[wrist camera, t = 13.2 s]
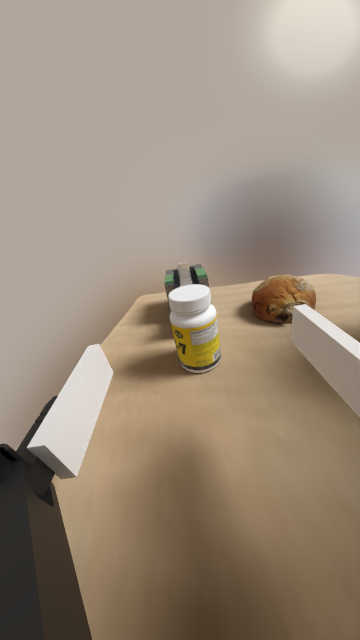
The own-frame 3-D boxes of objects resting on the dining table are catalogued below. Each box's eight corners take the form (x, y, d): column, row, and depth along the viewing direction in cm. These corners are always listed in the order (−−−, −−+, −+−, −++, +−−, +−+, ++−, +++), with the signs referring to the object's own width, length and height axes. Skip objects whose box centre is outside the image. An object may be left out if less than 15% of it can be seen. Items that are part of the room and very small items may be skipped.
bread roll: (312, 323, 36) (321, 278, 35) (309, 329, 28) (320, 271, 26) (257, 315, 42) (262, 276, 40) (240, 318, 33) (246, 270, 32)
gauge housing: (213, 315, 38) (208, 275, 34) (172, 322, 38) (163, 284, 34) (205, 295, 46) (201, 262, 43) (172, 301, 47) (164, 269, 43)
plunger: (210, 328, 32) (203, 273, 28) (180, 333, 32) (168, 279, 28) (201, 302, 41) (195, 258, 36) (178, 306, 41) (169, 263, 37)
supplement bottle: (175, 353, 30) (160, 290, 25) (210, 342, 30) (202, 278, 25) (186, 380, 25) (170, 307, 20) (228, 365, 25) (222, 292, 20)
